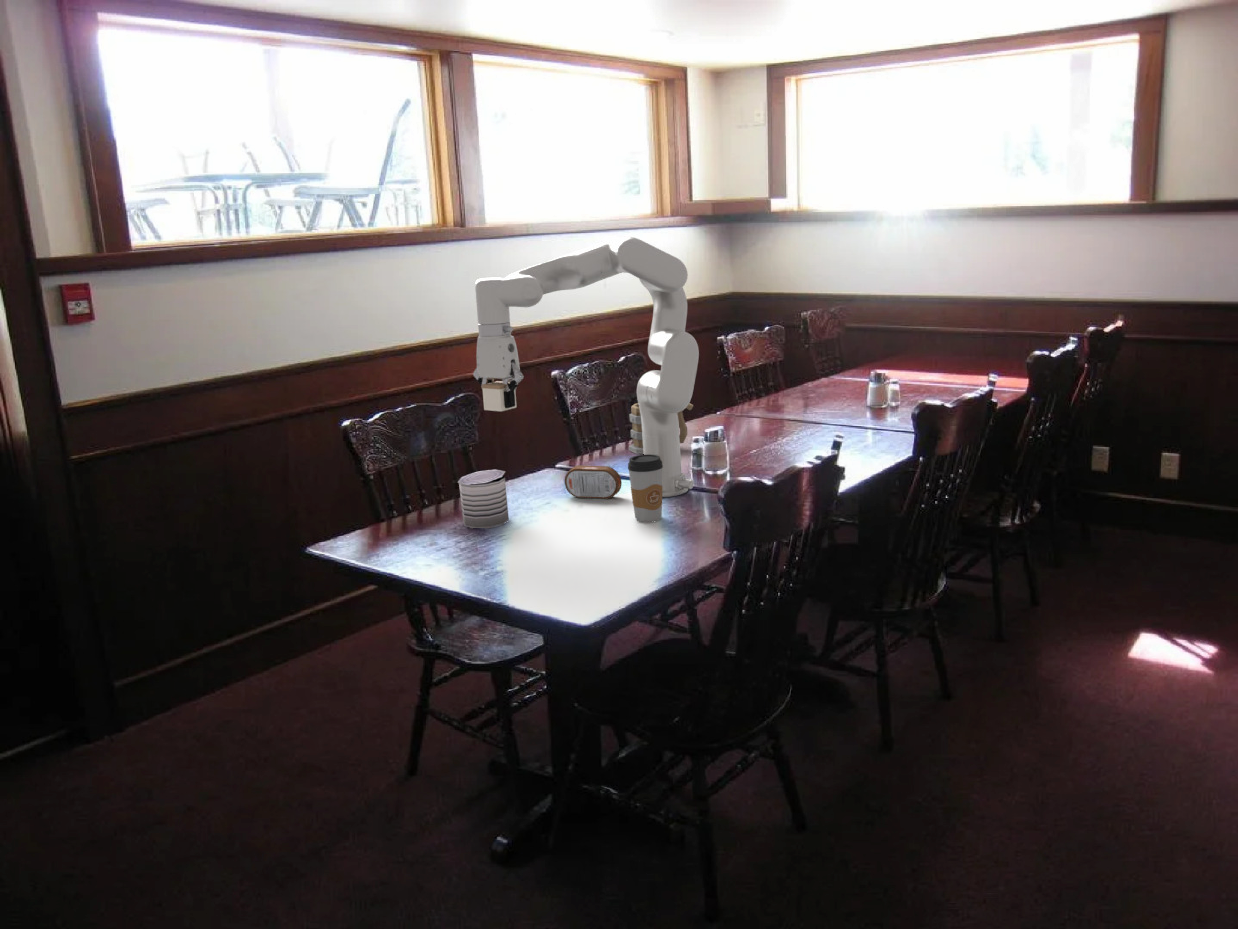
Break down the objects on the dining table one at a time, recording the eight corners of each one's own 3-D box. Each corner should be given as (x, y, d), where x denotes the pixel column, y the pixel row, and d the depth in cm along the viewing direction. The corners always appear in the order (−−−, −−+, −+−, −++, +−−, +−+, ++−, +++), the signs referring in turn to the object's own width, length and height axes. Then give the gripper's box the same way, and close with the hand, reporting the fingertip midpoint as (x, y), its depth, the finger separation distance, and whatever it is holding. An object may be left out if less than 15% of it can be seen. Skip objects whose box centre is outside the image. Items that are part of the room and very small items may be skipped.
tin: (623, 497, 275) (620, 465, 273) (619, 500, 272) (616, 468, 270) (568, 495, 280) (566, 464, 278) (564, 498, 277) (561, 467, 275)
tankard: (624, 454, 321) (621, 405, 318) (639, 444, 332) (636, 397, 329) (687, 455, 314) (685, 405, 310) (700, 446, 325) (698, 397, 321)
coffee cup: (641, 526, 249) (637, 464, 246) (625, 518, 256) (620, 457, 253) (672, 519, 253) (668, 458, 249) (655, 511, 260) (651, 452, 256)
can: (506, 527, 256) (501, 479, 253) (459, 530, 256) (454, 482, 253) (511, 514, 267) (507, 467, 264) (466, 516, 267) (461, 470, 264)
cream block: (516, 407, 256) (515, 382, 255) (501, 411, 252) (499, 386, 251) (499, 405, 260) (497, 381, 258) (483, 409, 255) (481, 384, 254)
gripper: (532, 329, 250) (537, 405, 254) (478, 327, 259) (484, 401, 264) (511, 333, 244) (517, 411, 248) (457, 331, 253) (463, 406, 258)
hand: (500, 405), depth 256 cm, fingers closed on cream block, 5 cm apart
